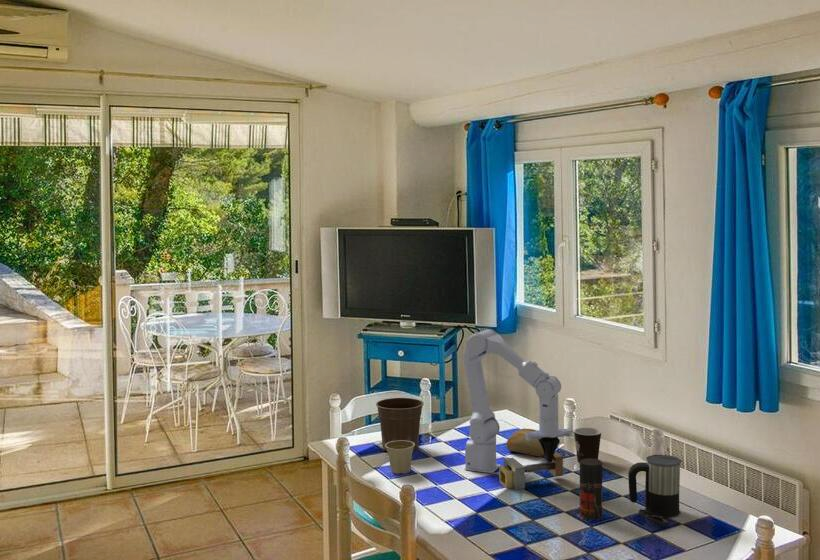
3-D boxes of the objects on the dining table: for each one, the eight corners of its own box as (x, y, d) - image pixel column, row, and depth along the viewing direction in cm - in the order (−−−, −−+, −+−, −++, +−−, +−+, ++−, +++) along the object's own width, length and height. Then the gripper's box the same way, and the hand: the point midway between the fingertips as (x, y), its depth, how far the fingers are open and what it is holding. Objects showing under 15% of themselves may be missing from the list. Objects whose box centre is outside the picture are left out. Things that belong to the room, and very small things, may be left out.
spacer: (506, 488, 255) (506, 472, 255) (499, 482, 261) (499, 466, 260) (512, 487, 256) (512, 471, 255) (505, 481, 261) (505, 465, 261)
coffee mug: (601, 466, 273) (601, 435, 272) (573, 465, 275) (573, 434, 274) (600, 454, 284) (600, 425, 283) (574, 453, 286) (574, 424, 285)
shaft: (514, 481, 256) (514, 461, 256) (508, 476, 261) (508, 457, 260) (562, 475, 260) (562, 456, 260) (556, 471, 265) (556, 452, 264)
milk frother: (672, 504, 240) (672, 453, 238) (698, 526, 224) (698, 471, 222) (623, 508, 238) (623, 456, 236) (645, 530, 222) (646, 475, 221)
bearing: (515, 489, 254) (515, 468, 253) (503, 479, 263) (503, 458, 262) (524, 488, 255) (524, 467, 254) (513, 478, 264) (512, 457, 263)
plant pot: (403, 438, 307) (402, 394, 305) (434, 448, 295) (433, 402, 293) (367, 448, 297) (366, 402, 295) (397, 459, 284) (396, 411, 283)
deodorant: (577, 512, 236) (577, 458, 234) (598, 510, 236) (598, 457, 235) (583, 520, 230) (583, 465, 228) (605, 519, 230) (605, 464, 229)
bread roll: (512, 446, 296) (512, 424, 295) (554, 452, 289) (554, 429, 288) (501, 454, 287) (501, 431, 286) (544, 460, 280) (544, 436, 279)
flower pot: (380, 474, 270) (380, 447, 269) (392, 464, 279) (392, 439, 278) (408, 477, 267) (408, 450, 266) (419, 468, 275) (419, 441, 274)
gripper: (531, 423, 254) (531, 467, 255) (576, 418, 257) (576, 462, 259) (522, 417, 261) (522, 460, 262) (566, 412, 264) (566, 455, 266)
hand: (548, 461), depth 261 cm, fingers closed
